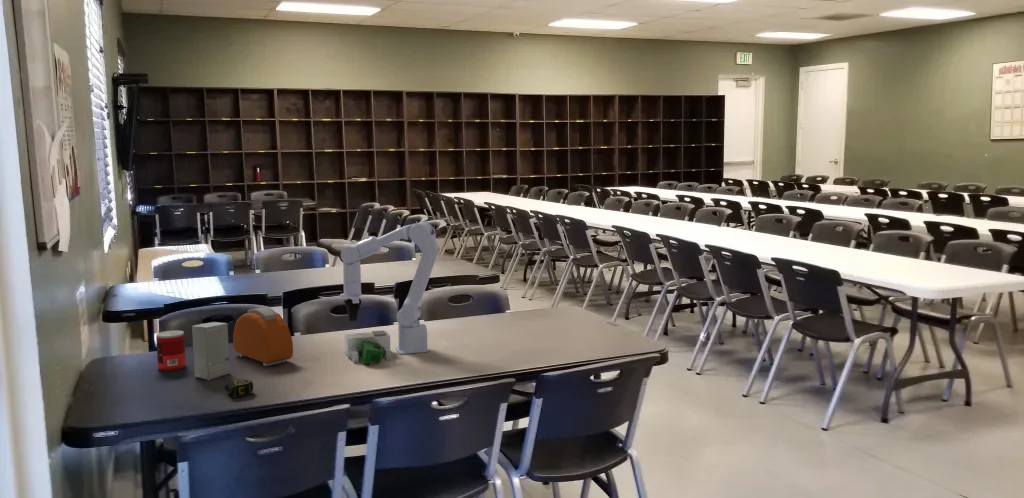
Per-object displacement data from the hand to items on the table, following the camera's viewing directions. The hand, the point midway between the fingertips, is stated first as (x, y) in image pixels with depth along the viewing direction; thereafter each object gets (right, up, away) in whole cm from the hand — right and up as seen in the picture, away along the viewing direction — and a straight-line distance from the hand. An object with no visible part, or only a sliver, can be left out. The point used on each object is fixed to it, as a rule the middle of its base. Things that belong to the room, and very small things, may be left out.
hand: (352, 320), depth 256 cm
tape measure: (-22, -17, -48) cm, 55 cm away
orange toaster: (-27, -12, -11) cm, 31 cm away
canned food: (-52, -13, -22) cm, 58 cm away
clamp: (+9, -12, -13) cm, 20 cm away
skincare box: (-36, -14, -30) cm, 49 cm away
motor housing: (+7, -11, -8) cm, 15 cm away
